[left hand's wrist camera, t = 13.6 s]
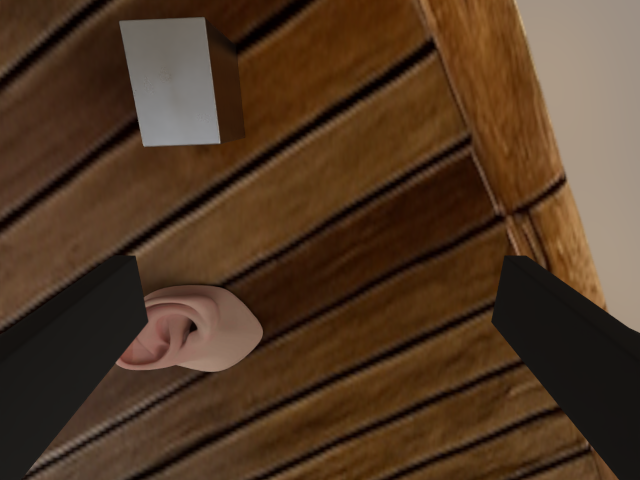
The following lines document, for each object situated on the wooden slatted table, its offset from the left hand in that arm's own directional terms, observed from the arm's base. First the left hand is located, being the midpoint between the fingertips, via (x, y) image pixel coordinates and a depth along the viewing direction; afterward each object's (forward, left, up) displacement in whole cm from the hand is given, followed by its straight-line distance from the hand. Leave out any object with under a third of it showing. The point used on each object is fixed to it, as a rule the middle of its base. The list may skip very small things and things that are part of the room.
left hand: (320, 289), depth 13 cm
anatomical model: (-19, -5, -21) cm, 29 cm away
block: (-3, +12, -21) cm, 24 cm away
